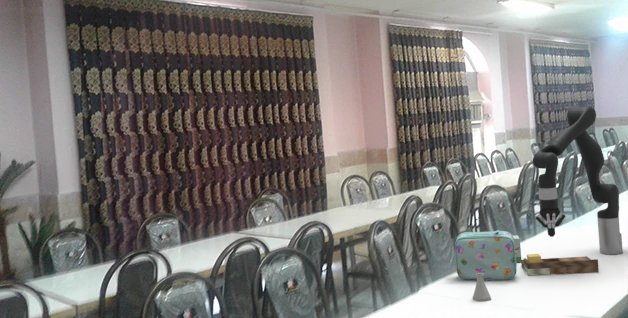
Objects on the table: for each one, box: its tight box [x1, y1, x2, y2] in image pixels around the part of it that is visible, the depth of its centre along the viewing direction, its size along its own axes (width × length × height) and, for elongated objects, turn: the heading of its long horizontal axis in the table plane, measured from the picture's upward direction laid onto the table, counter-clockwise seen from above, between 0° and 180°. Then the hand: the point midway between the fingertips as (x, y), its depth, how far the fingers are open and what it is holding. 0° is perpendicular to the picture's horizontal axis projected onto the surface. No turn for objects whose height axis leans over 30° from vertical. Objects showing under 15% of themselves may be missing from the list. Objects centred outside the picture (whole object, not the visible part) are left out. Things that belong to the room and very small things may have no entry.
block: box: [526, 253, 542, 263], centre depth 264 cm, size 5×5×5 cm
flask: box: [472, 273, 492, 302], centre depth 235 cm, size 7×7×10 cm
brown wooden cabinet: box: [520, 256, 599, 277], centre depth 267 cm, size 29×17×6 cm, turn 80°
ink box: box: [512, 234, 522, 264], centre depth 288 cm, size 9×5×12 cm, turn 168°
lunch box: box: [454, 229, 519, 281], centre depth 263 cm, size 27×10×21 cm, turn 71°
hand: (551, 236), depth 263 cm, fingers closed
